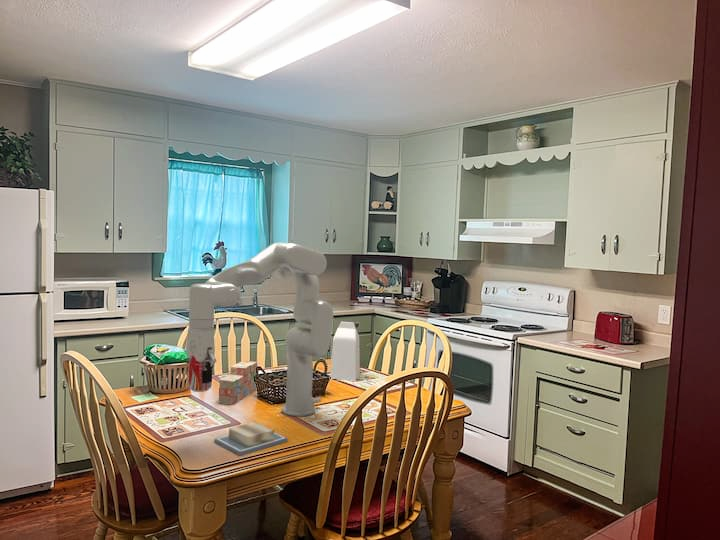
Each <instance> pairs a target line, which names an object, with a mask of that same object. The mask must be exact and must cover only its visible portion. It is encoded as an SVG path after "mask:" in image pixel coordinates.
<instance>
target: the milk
mask: <svg viewBox="0 0 720 540" xmlns="http://www.w3.org/2000/svg"><path fill="white" fill-rule="evenodd" d="M360 362H361V361H360V334H359V333H358V330H357V328H356V324H355V322H353V321H352V322H351V321H350V322H349V321H340V323H339V325H338V327H337V329H336V331H335V333H334V336H333V339H332V347H331V359H330V369H329V378H330V377H331V379H338V380H337V381H339V380H354V381H355V380H356V379H357V378H358V379H359V377H360V376H359V375H360V374H361V373H360V369H361V368H360V367H361V365H360ZM358 376H359V377H358ZM358 379H357V380H358ZM357 380H356V381H357Z"/></svg>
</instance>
